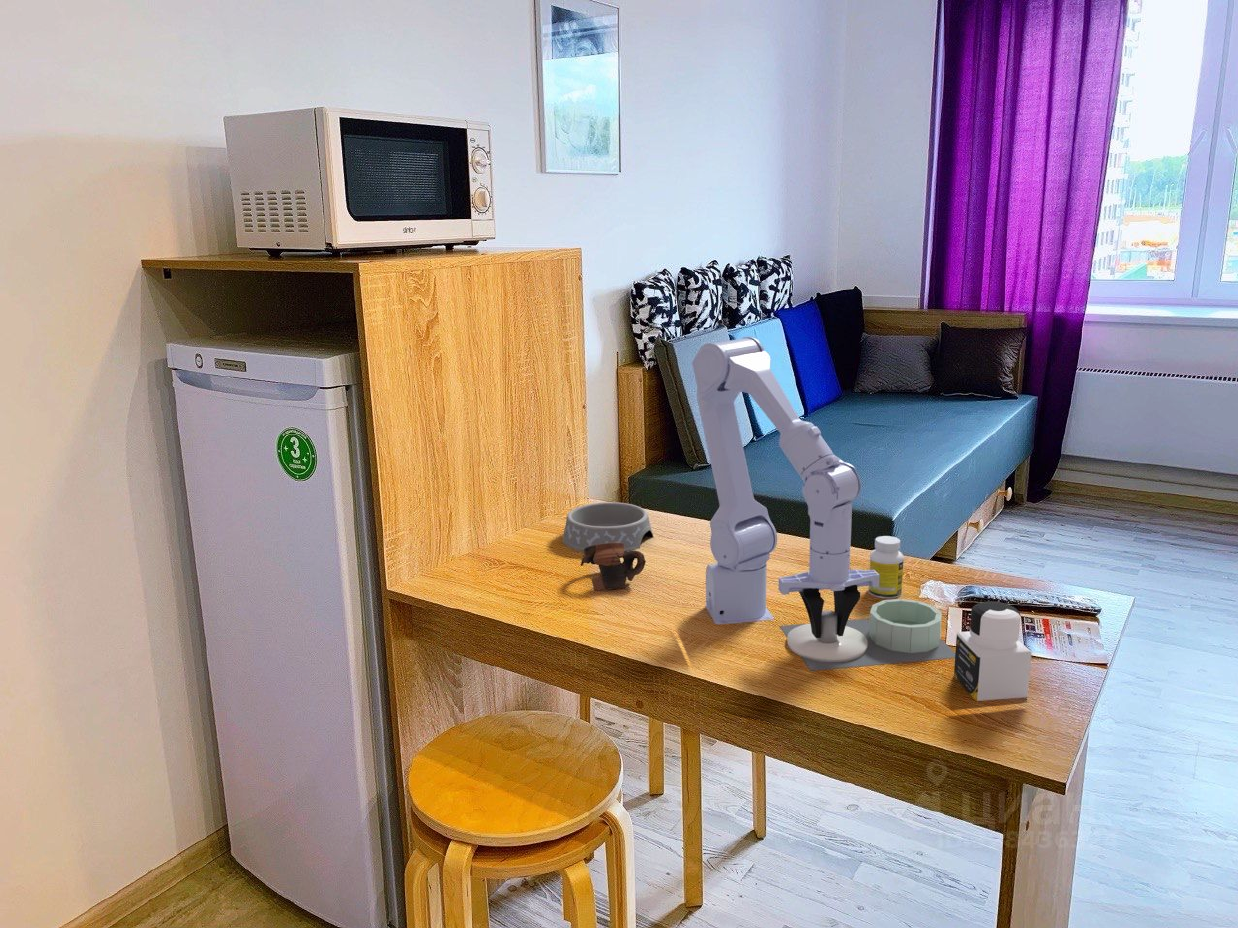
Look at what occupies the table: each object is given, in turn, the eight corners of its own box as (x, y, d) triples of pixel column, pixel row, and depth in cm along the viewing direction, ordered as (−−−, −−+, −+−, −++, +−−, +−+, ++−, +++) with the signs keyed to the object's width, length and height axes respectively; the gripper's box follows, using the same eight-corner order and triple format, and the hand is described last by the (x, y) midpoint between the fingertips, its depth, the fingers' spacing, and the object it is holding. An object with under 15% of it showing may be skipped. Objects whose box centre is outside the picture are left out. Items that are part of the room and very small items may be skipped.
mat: (810, 674, 135) (810, 670, 134) (779, 629, 149) (779, 625, 149) (959, 660, 137) (959, 656, 137) (914, 617, 152) (915, 614, 151)
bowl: (885, 655, 138) (887, 629, 137) (859, 626, 148) (860, 602, 147) (951, 649, 139) (953, 623, 138) (921, 620, 149) (923, 596, 148)
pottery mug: (576, 594, 166) (570, 547, 168) (596, 598, 175) (590, 553, 177) (642, 582, 162) (635, 534, 165) (659, 586, 171) (652, 541, 173)
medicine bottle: (952, 678, 132) (958, 597, 129) (1002, 675, 133) (1009, 594, 130) (975, 704, 125) (982, 620, 122) (1028, 701, 126) (1036, 616, 123)
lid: (801, 665, 136) (802, 634, 135) (777, 630, 147) (778, 601, 146) (880, 658, 137) (881, 627, 136) (850, 624, 148) (851, 595, 147)
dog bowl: (664, 529, 197) (664, 504, 195) (629, 560, 181) (628, 532, 179) (589, 520, 204) (588, 496, 202) (548, 549, 187) (547, 523, 186)
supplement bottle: (902, 602, 157) (905, 546, 155) (868, 600, 159) (871, 544, 156) (900, 589, 163) (903, 534, 160) (867, 587, 164) (869, 533, 161)
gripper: (789, 561, 133) (787, 650, 137) (889, 553, 135) (885, 641, 139) (774, 543, 140) (773, 629, 144) (870, 536, 142) (866, 621, 146)
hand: (827, 634), depth 142 cm, fingers closed on lid, 3 cm apart
